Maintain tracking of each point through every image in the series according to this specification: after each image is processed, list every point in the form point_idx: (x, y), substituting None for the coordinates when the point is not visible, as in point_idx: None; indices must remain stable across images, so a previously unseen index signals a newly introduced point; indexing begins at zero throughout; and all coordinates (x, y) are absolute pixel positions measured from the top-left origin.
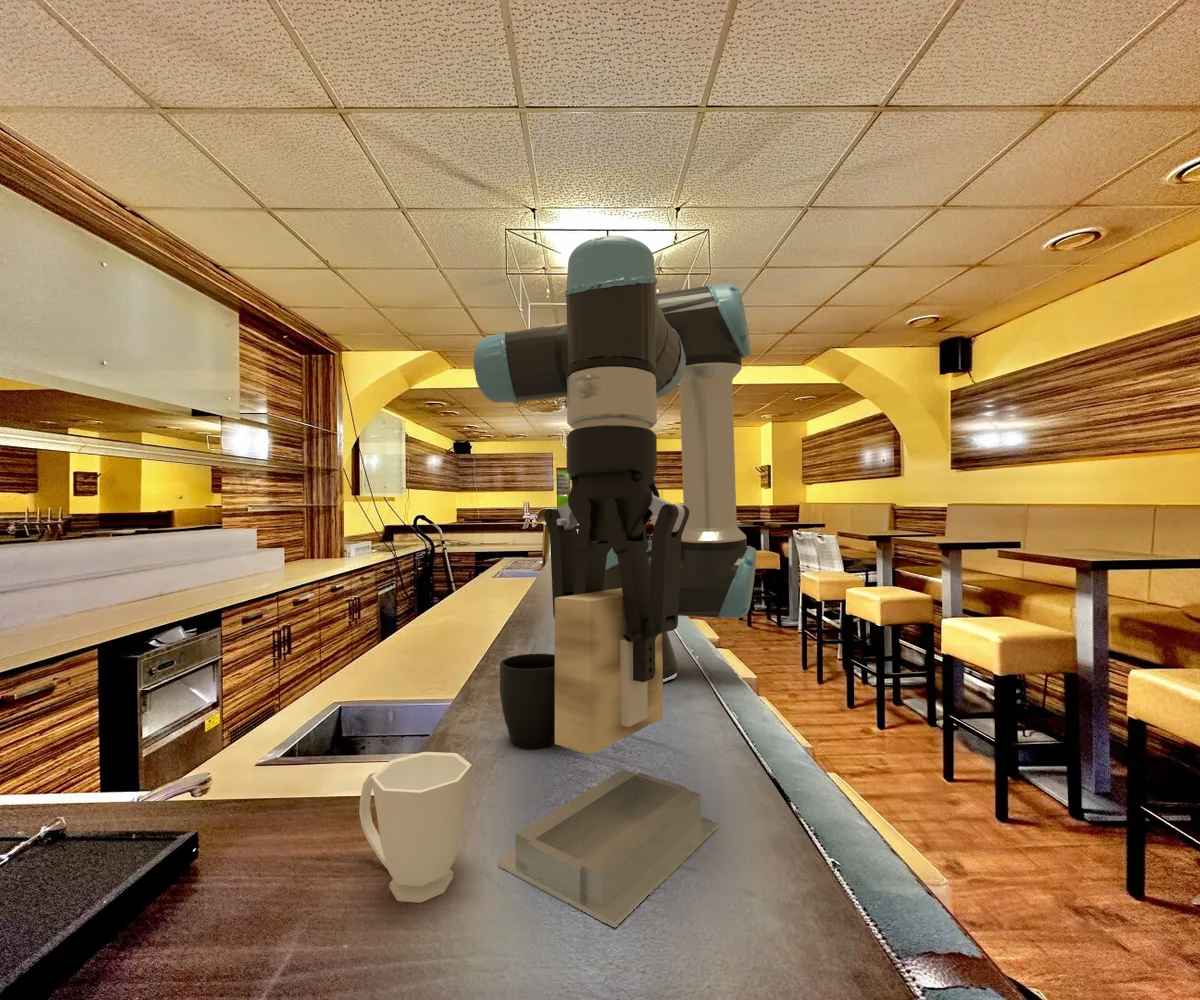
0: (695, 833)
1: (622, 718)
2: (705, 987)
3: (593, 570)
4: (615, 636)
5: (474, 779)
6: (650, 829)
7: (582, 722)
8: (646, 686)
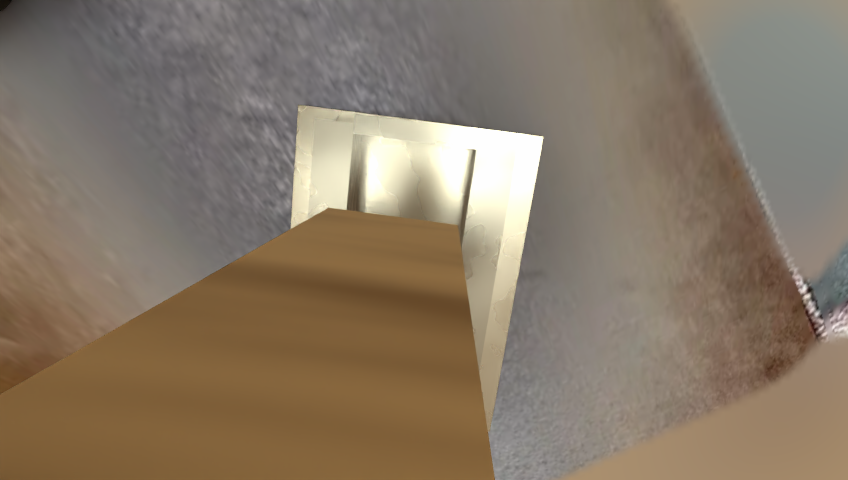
0: (515, 193)
1: None
2: (612, 452)
3: None
4: None
5: (32, 208)
6: (479, 315)
7: None
8: None
